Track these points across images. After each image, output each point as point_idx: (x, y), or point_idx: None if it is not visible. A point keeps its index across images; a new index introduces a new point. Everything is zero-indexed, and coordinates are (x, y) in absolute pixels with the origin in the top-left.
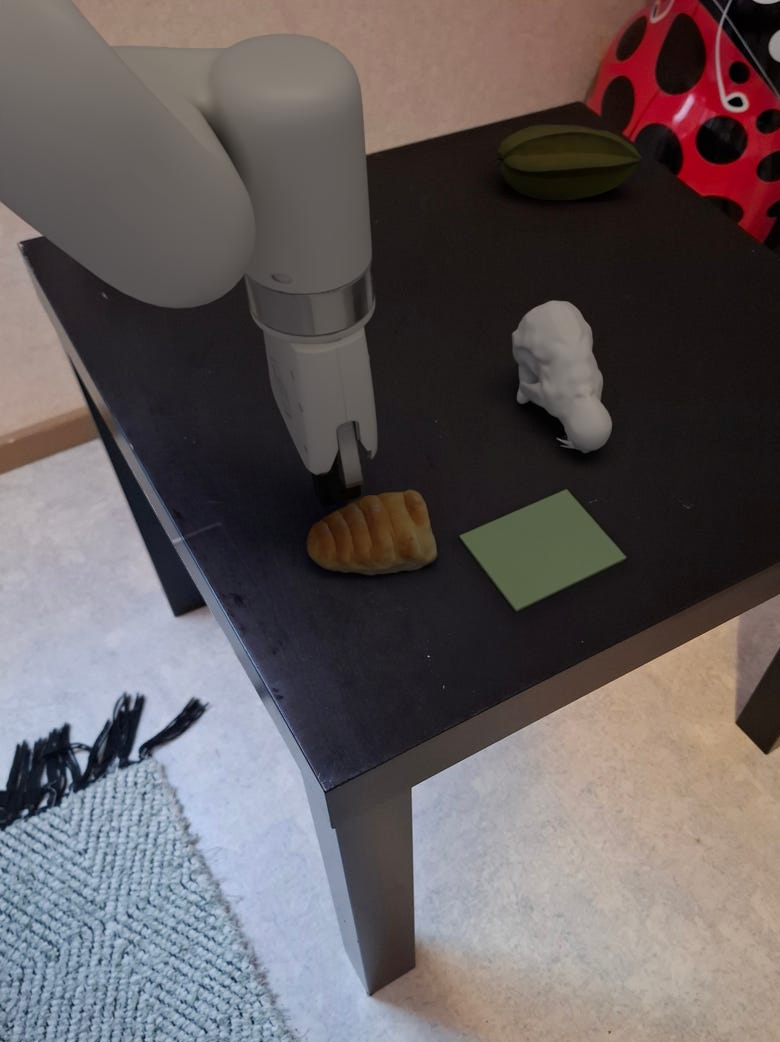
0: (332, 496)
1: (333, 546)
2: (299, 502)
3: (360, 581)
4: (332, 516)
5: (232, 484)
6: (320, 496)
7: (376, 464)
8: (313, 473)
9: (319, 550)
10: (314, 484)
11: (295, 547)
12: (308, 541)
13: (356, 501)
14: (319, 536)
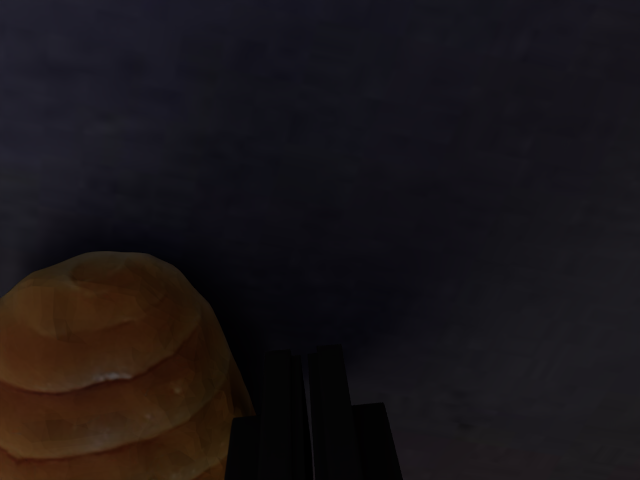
0: (229, 439)
1: (7, 380)
2: (375, 250)
3: None
4: (167, 398)
5: (558, 35)
6: (263, 389)
7: (440, 455)
8: (323, 444)
9: (15, 323)
10: (321, 389)
11: (175, 202)
12: (99, 283)
13: None
14: (68, 344)
